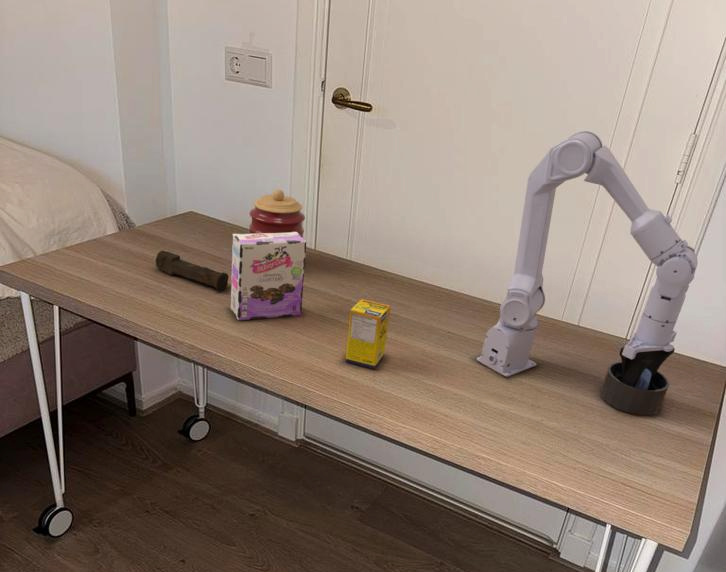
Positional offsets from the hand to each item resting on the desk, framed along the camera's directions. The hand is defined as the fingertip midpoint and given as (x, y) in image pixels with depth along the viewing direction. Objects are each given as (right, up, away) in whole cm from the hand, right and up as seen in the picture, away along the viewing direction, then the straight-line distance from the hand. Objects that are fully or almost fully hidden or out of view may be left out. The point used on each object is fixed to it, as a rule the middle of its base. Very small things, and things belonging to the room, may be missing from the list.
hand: (635, 383), depth 132 cm
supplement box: (-50, +4, +5) cm, 50 cm away
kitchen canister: (-72, +30, +42) cm, 89 cm away
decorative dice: (0, -1, +1) cm, 2 cm away
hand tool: (-89, +24, +27) cm, 96 cm away
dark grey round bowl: (0, -3, +2) cm, 4 cm away
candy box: (-71, +15, +17) cm, 74 cm away
